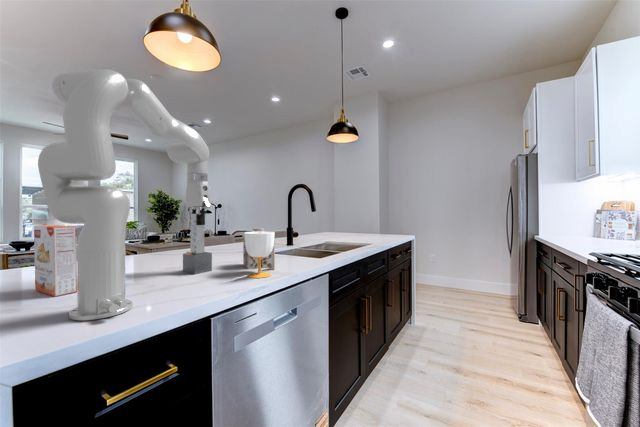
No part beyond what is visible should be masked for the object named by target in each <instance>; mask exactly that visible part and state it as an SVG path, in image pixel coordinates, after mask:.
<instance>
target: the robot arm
mask: <svg viewBox="0 0 640 427" xmlns="http://www.w3.org/2000/svg"><path fill="white" fill-rule="evenodd" d="M51 88H52V91H53V94H54V96H55V97H56V99H57V100H58V101H60V102H61V103H62V104H64V107H63V113H62V120H63V129H64V135H65V136H64V137H65V141H59V142H58V141H57V142H54V143H50V144H48V145H46V146H44V147H43V148H42V149H41V151H40V153H39V155H38V160H37V166H38V167H37V168H38V172H39V178H40V181H41V186H42V191H43V194H44V199H45V202H46V206H47V208H48V211H49V213H50V214H51V216H52V217H53V218H54V219H56V221H59V222H61V223H65V224H73V225H75V224H77V225H79V224H80V225H81V224H84V225H83V227H82V229H81V231H80V233H79V235H78V238H77V292H76V293H77V294H76V295H77V307H75V308H73V309H71V310H70V311H69V312H68V318H69V319H70V320H73V321H93V320H100V319H101V320H102V319H106V318H110V317H114V316H117V315H120V314H121V315H122V314H123V313H125V312H127V311H128V312H129V311H130V310H131V309H132V308H133V301H132V300H130V299H126V232H127V231H126V230H127V224H128V219H129V216H130V211H131V205H130V204H131V203H130V199H129V197H128V195H127V194H126V193H125V192H124V191H123V190H121V189H119V188H117V187H114V186H109V185H86V184H85V182H90V181H93V182H94V181H104V180H107V179H110V178H112V177H114V175H115V172H116V168H117V166H116V157H115V152H114V146H113V140H112V135H111V134H112V133H111V127H110V122H111V117H112V115H113V113H116V112H117V113H118V112H130V113H131V115H133V116H134V117H135V118H136V119H137V120H138V121H139V122H140V123H141V124H142V126H144V127H145V128H146V130H147V131H148V132H149V133H151V134H152V135H154V136H157V137H161V138H164V139H167V140H171V141H175V143H171V144H169V145H168V148H167V149H166V150H167V152H166V154H167V156H168V158H169V159H170V160H171V161H172V162H174V163H176V164H186V188H185V189H186V190H185V208H186V210H187V211H188V214H189V221H190V220H191V214H198V215H197V225H204V226H205V225H206V215H207V211H208V210H209V209H210V208H211V202H212V200H211V189H210V188H211V187H210V184H209V183H210V182H209V181H208V177H209V176H208V174H209V173H208V172H209V170H208V161H209V158H210V149H209V147H208V145H207V143H206V142H205V140H204V139H203V137H202V136H201V135H200V133H199V132H197V130H195V129H194V128H192V127H191V126H190V125H187V124H186V123H184V122H182V121H180V120H179V119H176V118H175V117H174V116H172V115H171V114H170V113H169V111H168V110H167V109H166V108H165V106H164V104H162V102H161V101H160V100H159V98H158V97H157V96H156V95H155V94H154V93H153V91H152V90H151V89H150V87H149V86H148V85H147V84H146V83H145V82H144V81H142V80H140V79H135V78H125V76H124V75H123V74H121V73H120V72H118V71H115V70H112V69H109V68H108V69H106V68H102V69H101V68H99V69H88V70H80V71H79V70H78V71H67V72H62V73H59V74H57V75H56V76H54V78H53V80H52V82H51ZM189 225H190V226H191V223H190V222H189Z"/></svg>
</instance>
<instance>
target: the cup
mask: <svg viewBox="0 0 640 427" xmlns="http://www.w3.org/2000/svg"><path fill="white" fill-rule="evenodd" d="M275 234H276V233H275V231H267V230H266V231H265V230H264V231H257V232H253V231H246V232H244V235H243V239H244V238H245V247H246V251H247V252H248V254H249V255H250V256H251V257H253V258H255V259H258V268H257V272H252V273H249V274H248V275H247V277H248V278H251V279H263V278H264V279H266V278H269V277H271V276H272V274H271V273H270V272H266V271H265V272H263V271H261V270H262V268H261V260H262V259H263V258H265V257H267V256H269V255H270V253H271V252H272V249H273V246H274V243H275V241H274V240H275Z"/></svg>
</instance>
